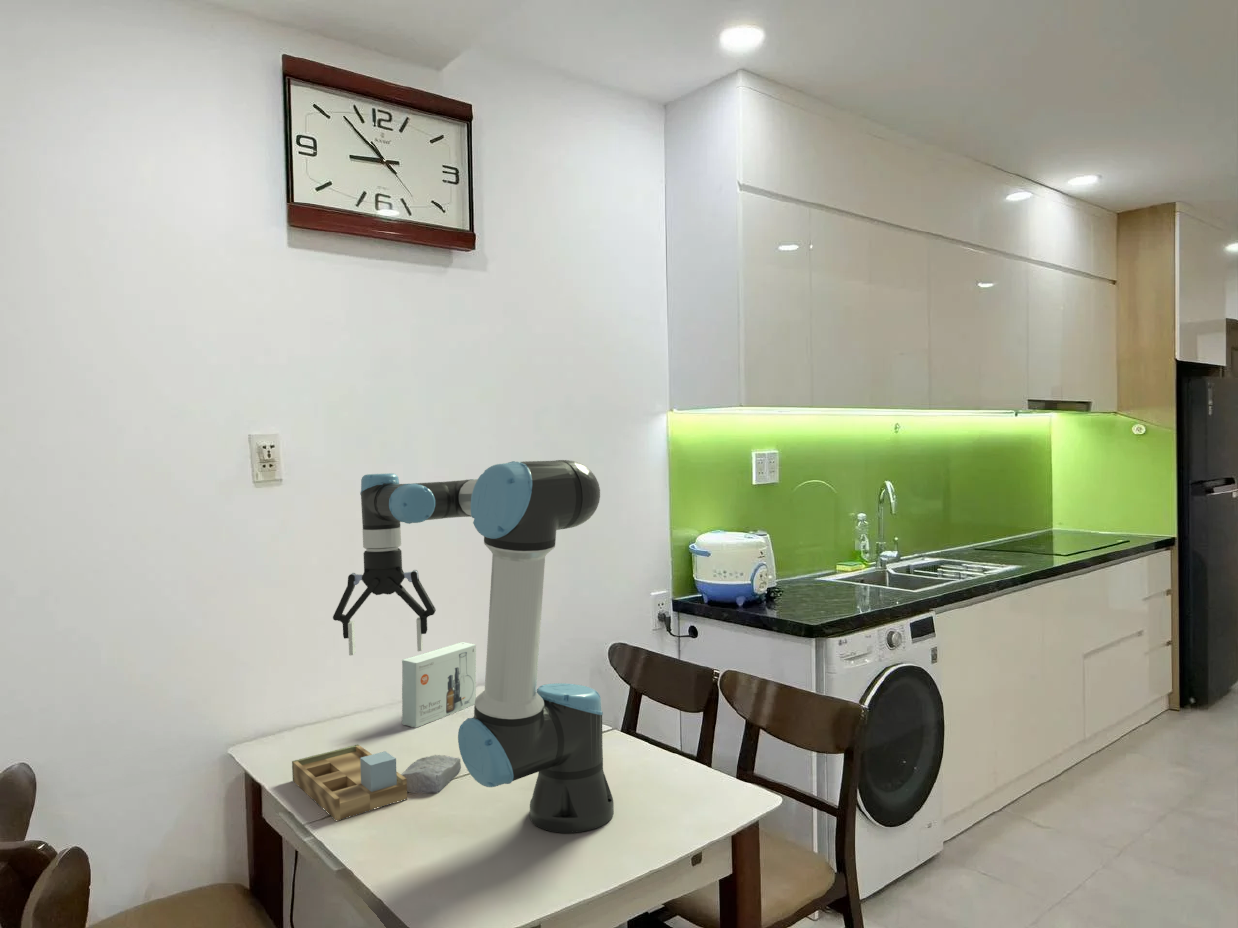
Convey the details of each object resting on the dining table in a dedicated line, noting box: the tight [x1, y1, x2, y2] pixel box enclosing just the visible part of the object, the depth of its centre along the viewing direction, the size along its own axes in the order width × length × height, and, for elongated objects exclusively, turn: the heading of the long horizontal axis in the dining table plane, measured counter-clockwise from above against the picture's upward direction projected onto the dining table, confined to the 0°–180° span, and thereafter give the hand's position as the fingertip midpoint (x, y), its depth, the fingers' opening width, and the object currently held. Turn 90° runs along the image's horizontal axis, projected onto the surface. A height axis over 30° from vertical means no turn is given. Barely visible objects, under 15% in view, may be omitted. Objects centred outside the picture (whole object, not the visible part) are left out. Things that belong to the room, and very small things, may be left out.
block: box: [360, 750, 397, 792], centre depth 160 cm, size 5×5×5 cm
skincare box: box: [401, 641, 477, 729], centre depth 209 cm, size 21×6×16 cm, turn 147°
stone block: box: [400, 754, 462, 794], centre depth 169 cm, size 12×5×10 cm
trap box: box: [291, 744, 408, 821], centre depth 165 cm, size 24×14×4 cm, turn 39°
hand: (386, 651), depth 173 cm, fingers open, 13 cm apart
